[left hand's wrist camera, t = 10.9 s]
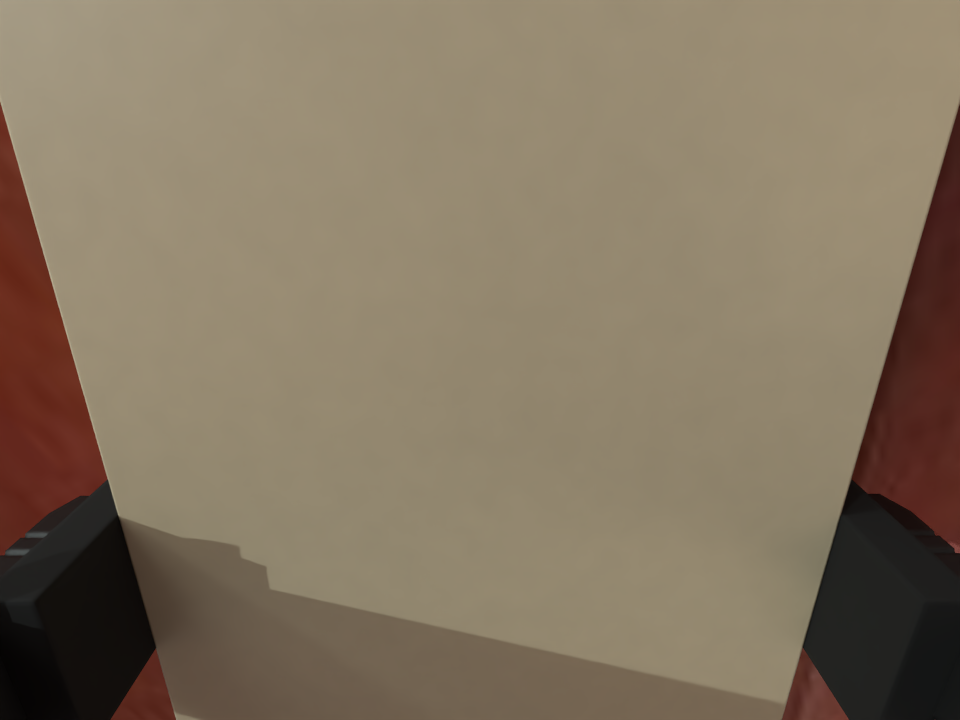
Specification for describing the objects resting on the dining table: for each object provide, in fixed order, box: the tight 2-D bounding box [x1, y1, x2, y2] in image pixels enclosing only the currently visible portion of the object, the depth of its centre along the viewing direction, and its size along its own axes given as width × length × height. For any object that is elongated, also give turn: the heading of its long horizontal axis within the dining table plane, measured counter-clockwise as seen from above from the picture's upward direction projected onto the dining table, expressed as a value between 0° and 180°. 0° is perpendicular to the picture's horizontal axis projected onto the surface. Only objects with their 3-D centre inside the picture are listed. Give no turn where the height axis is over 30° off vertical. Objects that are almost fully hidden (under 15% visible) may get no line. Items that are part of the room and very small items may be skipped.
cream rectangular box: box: [0, 0, 960, 720], centre depth 11 cm, size 17×11×8 cm, turn 0°
